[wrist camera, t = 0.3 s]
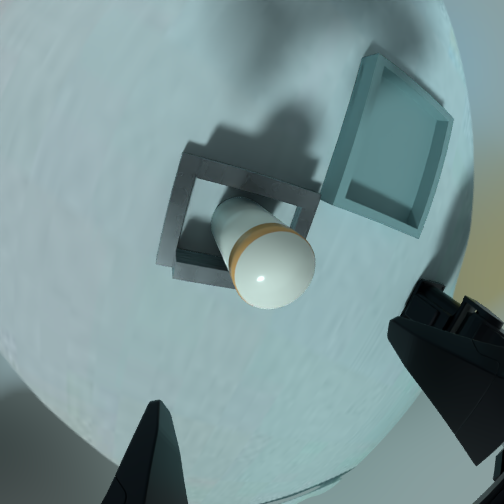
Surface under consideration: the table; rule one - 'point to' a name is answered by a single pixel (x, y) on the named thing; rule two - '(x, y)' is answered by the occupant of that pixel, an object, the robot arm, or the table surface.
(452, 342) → the robot arm
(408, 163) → the tray
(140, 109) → the table surface
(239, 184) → the clip rails
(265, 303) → the cylinder
